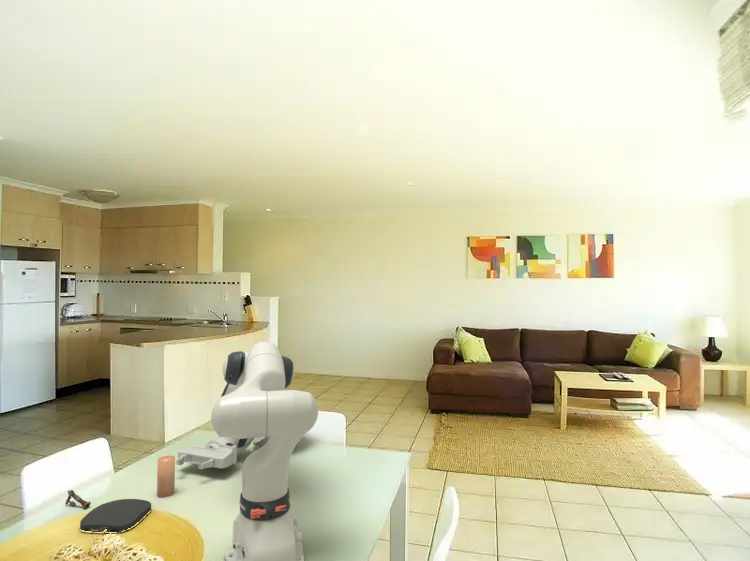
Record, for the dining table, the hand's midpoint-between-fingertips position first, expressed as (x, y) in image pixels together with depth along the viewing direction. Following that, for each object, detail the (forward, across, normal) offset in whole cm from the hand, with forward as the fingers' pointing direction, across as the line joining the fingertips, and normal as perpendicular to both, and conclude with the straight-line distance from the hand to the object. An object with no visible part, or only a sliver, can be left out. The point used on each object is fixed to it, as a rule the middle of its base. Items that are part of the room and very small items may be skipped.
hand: (188, 464), depth 148 cm
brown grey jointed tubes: (+26, -18, +6) cm, 32 cm away
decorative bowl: (-45, +15, +1) cm, 47 cm away
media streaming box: (+26, 0, +6) cm, 27 cm away
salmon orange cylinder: (+9, 0, +6) cm, 11 cm away
